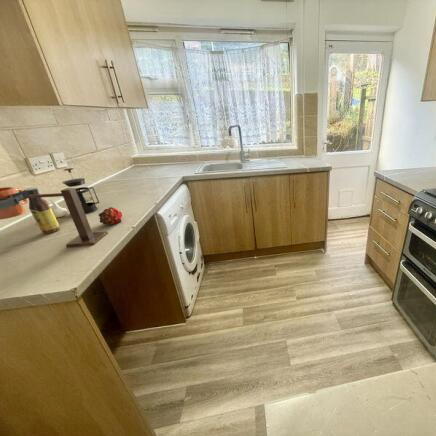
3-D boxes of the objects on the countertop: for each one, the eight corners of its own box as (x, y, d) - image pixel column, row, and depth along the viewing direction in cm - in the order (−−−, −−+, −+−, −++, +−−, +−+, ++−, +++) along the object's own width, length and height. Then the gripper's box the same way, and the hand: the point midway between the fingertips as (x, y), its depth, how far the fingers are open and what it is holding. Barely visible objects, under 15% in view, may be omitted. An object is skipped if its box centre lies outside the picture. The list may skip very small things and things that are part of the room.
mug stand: (41, 249, 94) (13, 195, 85) (60, 237, 103) (37, 187, 94) (94, 245, 96) (72, 192, 87) (108, 234, 105) (90, 184, 96)
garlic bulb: (68, 216, 125) (61, 201, 121) (52, 219, 122) (44, 204, 118) (69, 212, 129) (63, 198, 126) (54, 215, 126) (47, 201, 123)
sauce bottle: (41, 231, 109) (19, 189, 101) (60, 226, 113) (39, 185, 105) (43, 235, 105) (19, 192, 97) (61, 230, 109) (40, 188, 101)
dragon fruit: (109, 232, 110) (117, 225, 121) (123, 219, 111) (129, 213, 121) (90, 220, 106) (100, 214, 117) (105, 206, 107) (113, 201, 118)
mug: (11, 219, 82) (-3, 193, 78) (-17, 220, 81) (-32, 194, 77) (41, 206, 93) (30, 183, 90) (17, 207, 92) (6, 184, 89)
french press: (75, 216, 124) (55, 172, 115) (73, 212, 130) (53, 169, 121) (102, 209, 132) (85, 167, 122) (99, 205, 138) (83, 165, 128)
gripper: (-99, 235, 67) (-15, 206, 87) (-14, 229, 69) (49, 202, 90) (-118, 209, 64) (-26, 186, 84) (-28, 204, 66) (40, 182, 87)
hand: (13, 194), depth 87 cm, fingers closed on mug, 8 cm apart
